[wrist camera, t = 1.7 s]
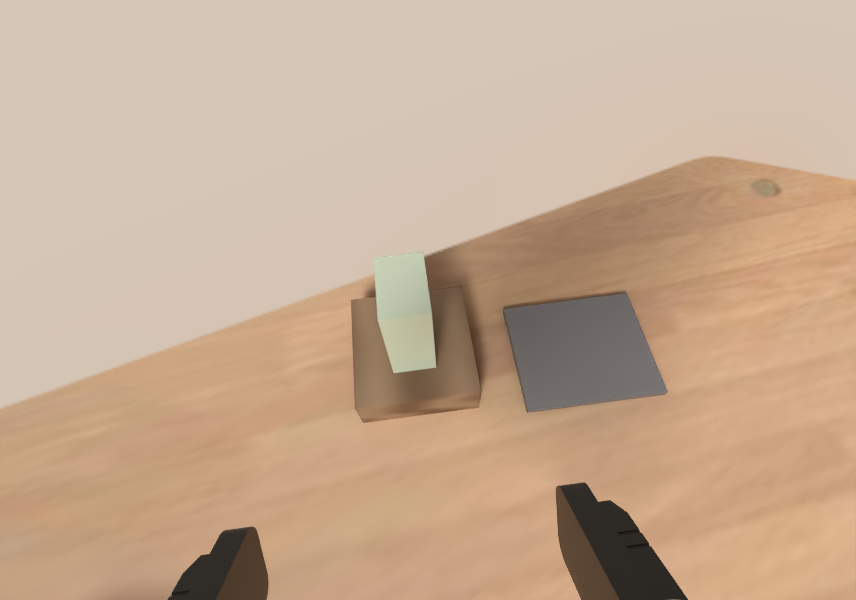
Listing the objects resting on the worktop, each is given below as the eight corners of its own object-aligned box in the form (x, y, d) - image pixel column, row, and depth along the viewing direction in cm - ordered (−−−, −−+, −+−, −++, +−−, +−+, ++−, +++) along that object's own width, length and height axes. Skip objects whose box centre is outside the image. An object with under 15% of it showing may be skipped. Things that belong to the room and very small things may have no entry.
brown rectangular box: (460, 308, 44) (461, 286, 40) (478, 407, 39) (481, 391, 35) (359, 321, 44) (351, 300, 40) (363, 422, 38) (354, 408, 35)
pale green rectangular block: (428, 314, 39) (423, 251, 31) (436, 367, 36) (431, 313, 29) (389, 319, 39) (373, 258, 31) (393, 373, 36) (377, 320, 29)
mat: (624, 296, 44) (626, 293, 43) (664, 394, 38) (667, 392, 38) (503, 311, 43) (503, 308, 43) (527, 412, 38) (528, 410, 38)
